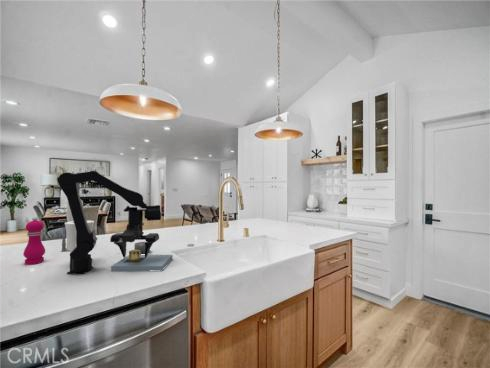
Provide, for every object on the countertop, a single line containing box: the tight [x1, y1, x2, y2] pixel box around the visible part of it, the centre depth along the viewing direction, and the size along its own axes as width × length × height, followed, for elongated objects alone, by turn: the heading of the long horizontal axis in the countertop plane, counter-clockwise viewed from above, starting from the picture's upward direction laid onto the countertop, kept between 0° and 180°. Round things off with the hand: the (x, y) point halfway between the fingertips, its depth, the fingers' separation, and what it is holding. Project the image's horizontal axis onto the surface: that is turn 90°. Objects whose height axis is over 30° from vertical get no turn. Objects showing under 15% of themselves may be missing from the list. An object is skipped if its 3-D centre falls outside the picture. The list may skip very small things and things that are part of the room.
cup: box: [64, 219, 95, 254], centre depth 105 cm, size 11×11×18 cm
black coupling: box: [133, 241, 151, 255], centre depth 122 cm, size 7×7×5 cm
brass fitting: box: [128, 249, 140, 263], centre depth 104 cm, size 4×4×6 cm
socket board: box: [110, 254, 174, 272], centre depth 104 cm, size 20×16×2 cm
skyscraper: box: [60, 199, 84, 253], centre depth 127 cm, size 8×8×28 cm
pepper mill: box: [23, 216, 46, 266], centre depth 105 cm, size 7×7×20 cm
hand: (135, 257), depth 104 cm, fingers open, 9 cm apart
